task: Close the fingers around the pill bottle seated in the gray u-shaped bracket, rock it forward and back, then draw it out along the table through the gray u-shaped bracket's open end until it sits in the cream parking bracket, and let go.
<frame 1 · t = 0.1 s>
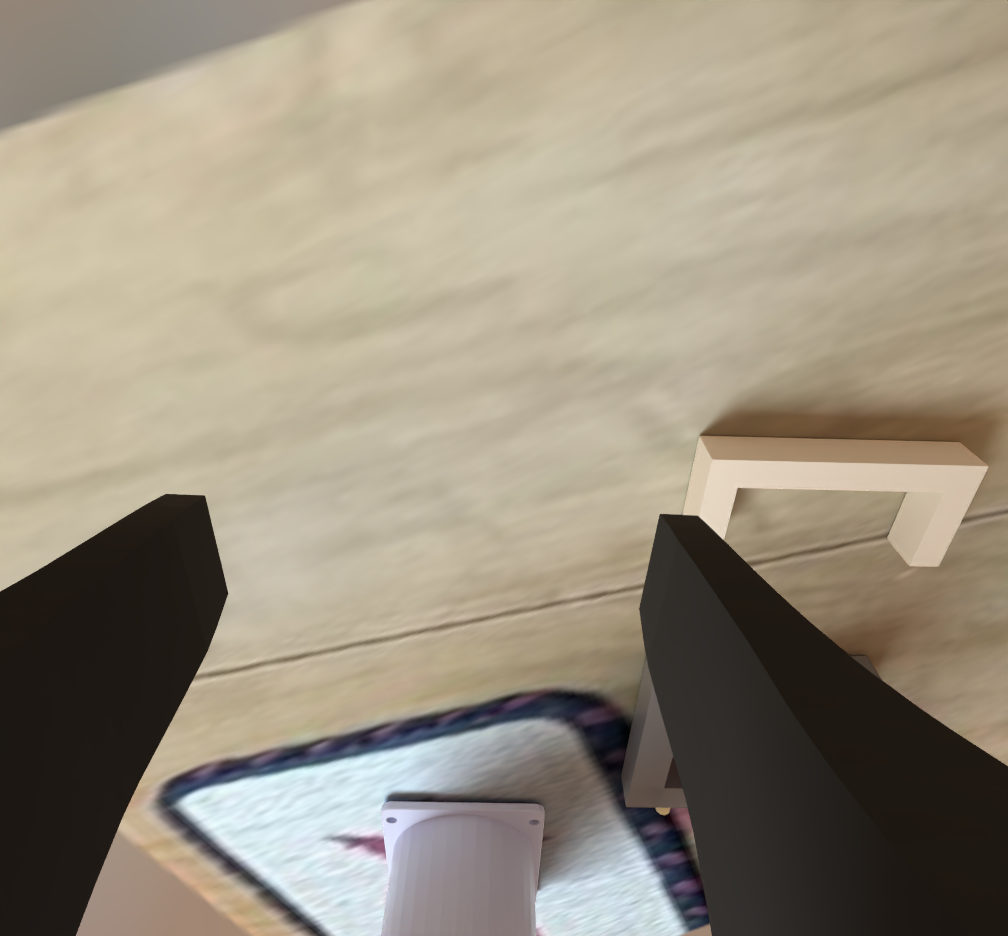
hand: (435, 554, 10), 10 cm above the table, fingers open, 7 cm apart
gray u-shaped bracket: (738, 709, 28), on the table
parking bracket: (825, 452, 21), on the table
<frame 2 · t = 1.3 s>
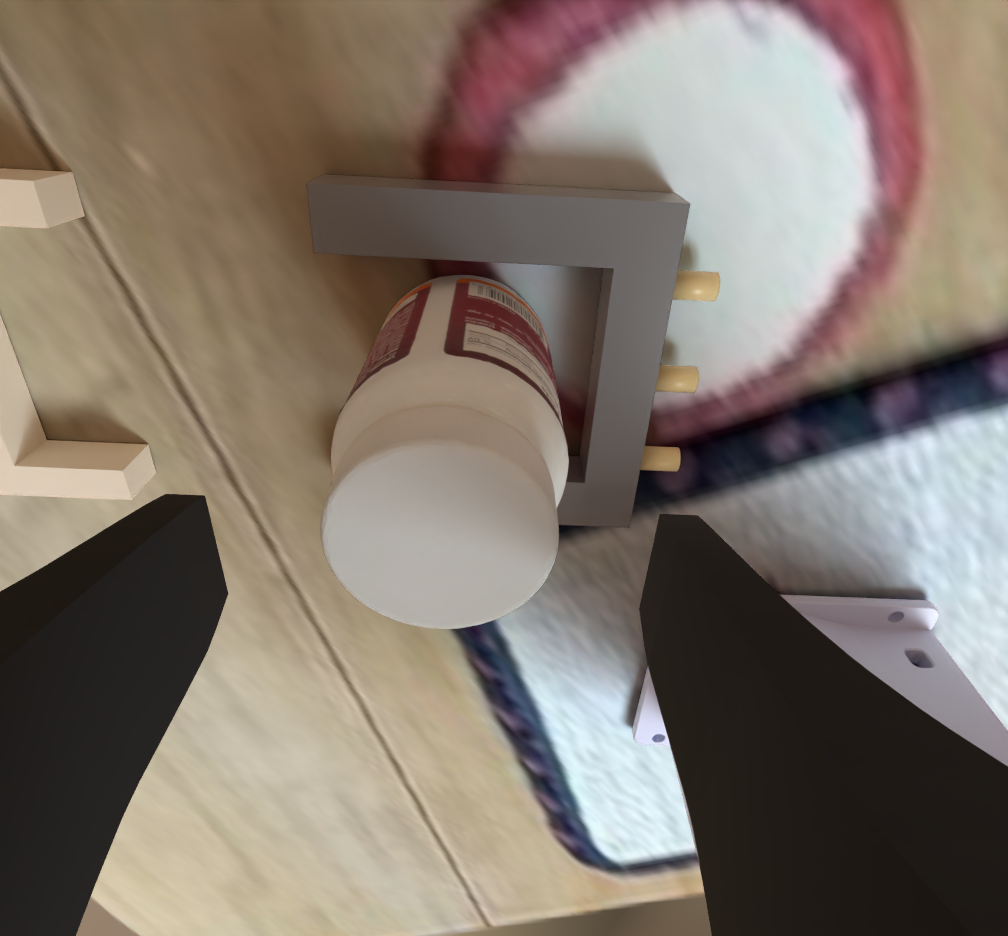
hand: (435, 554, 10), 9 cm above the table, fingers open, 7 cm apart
pill bottle: (466, 354, 18), on the table
gray u-shaped bracket: (465, 357, 18), on the table
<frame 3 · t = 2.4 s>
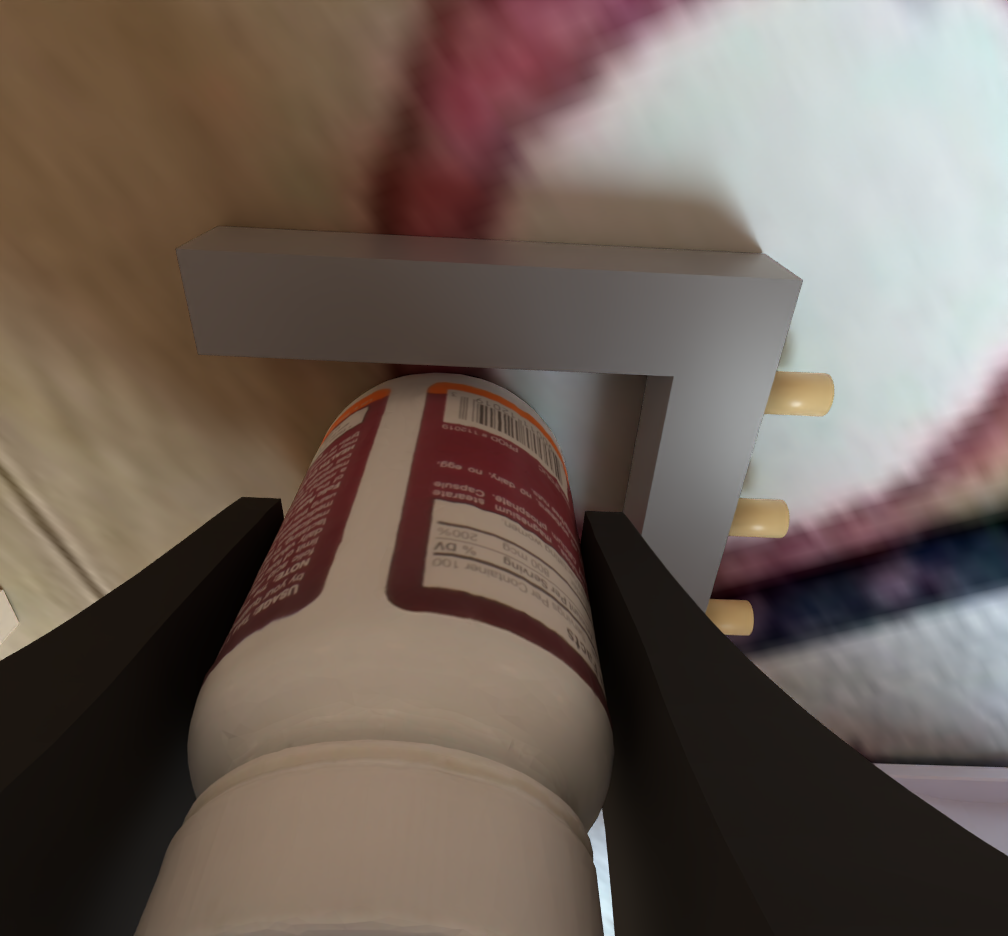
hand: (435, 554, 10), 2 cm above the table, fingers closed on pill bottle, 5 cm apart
pill bottle: (446, 475, 12), on the table, touching gripper
gray u-shaped bracket: (445, 481, 12), on the table
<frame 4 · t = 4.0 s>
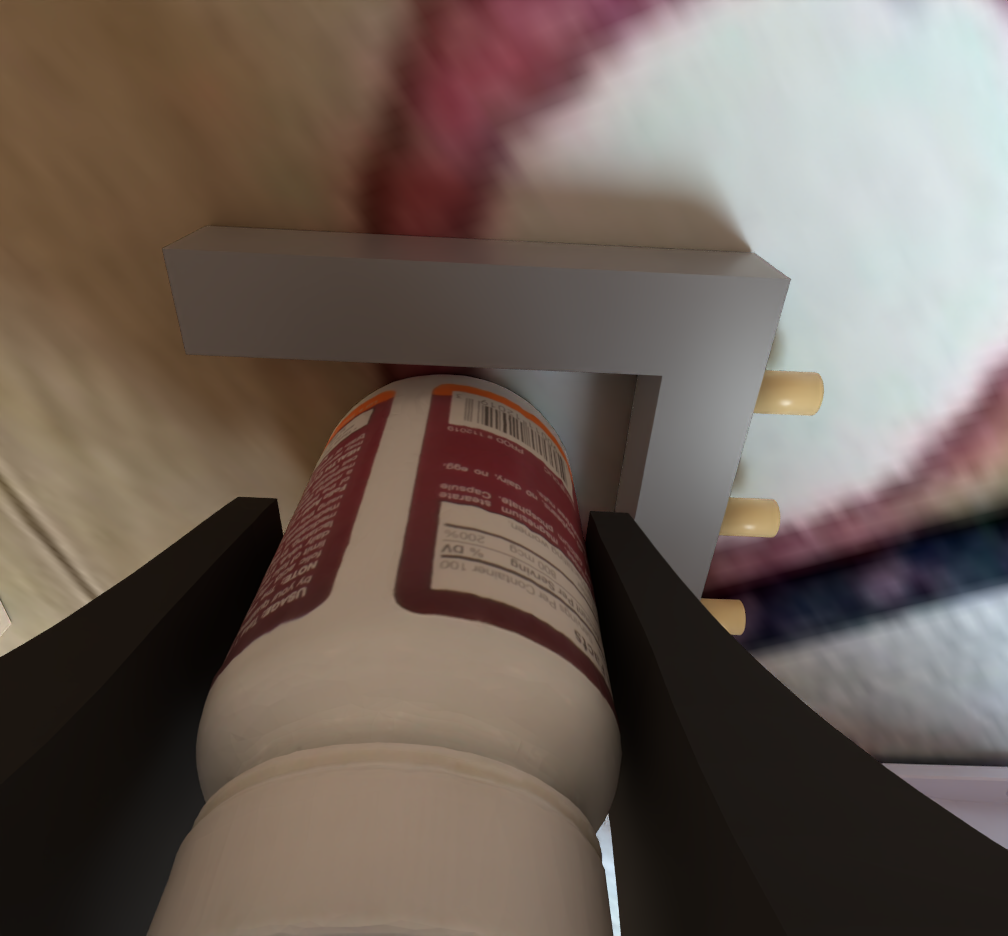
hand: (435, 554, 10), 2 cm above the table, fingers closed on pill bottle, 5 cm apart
pill bottle: (451, 476, 12), on the table, touching gripper
gray u-shaped bracket: (437, 480, 12), on the table
when the fingers open (2 cm above the table, at t = 4.0 s): pill bottle moves 6 cm, on the table.
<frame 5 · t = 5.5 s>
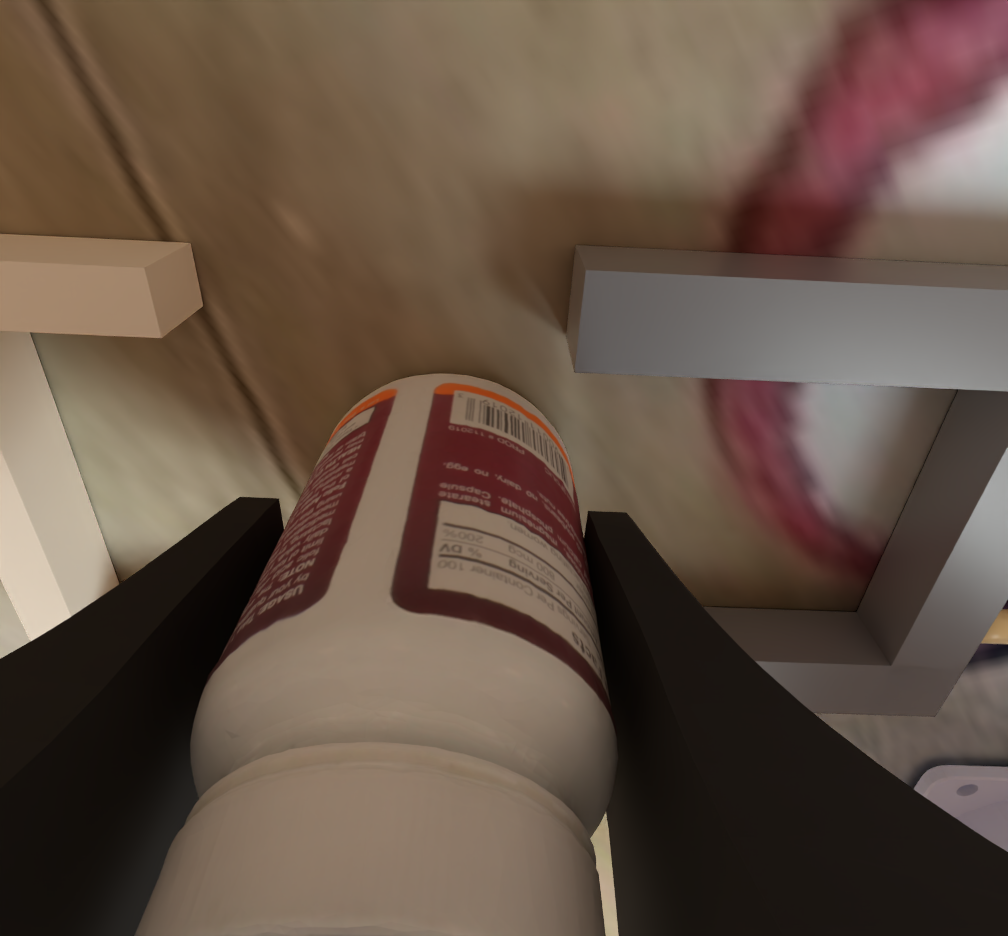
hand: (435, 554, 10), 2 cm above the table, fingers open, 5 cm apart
pill bottle: (452, 476, 12), on the table, touching gripper
gray u-shaped bracket: (730, 492, 12), on the table
parking bracket: (51, 466, 12), on the table
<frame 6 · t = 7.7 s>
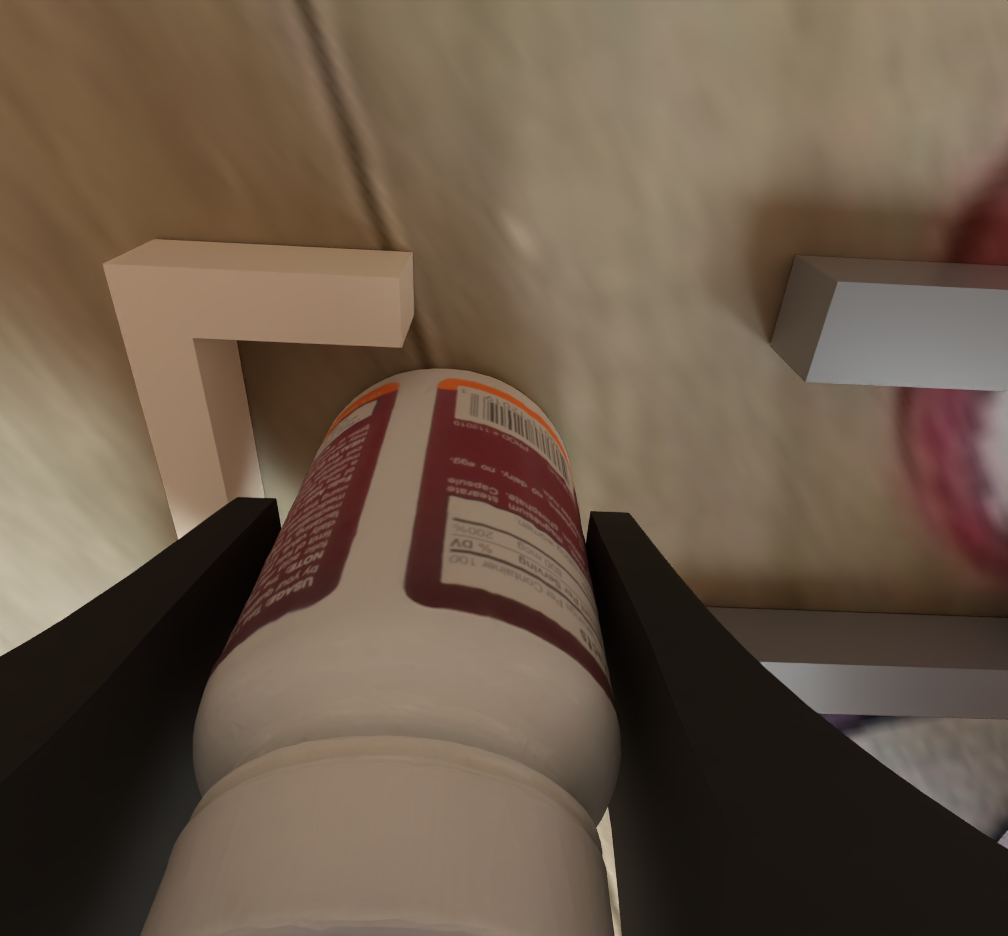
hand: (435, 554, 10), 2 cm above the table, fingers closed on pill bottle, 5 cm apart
pill bottle: (449, 472, 12), on the table, touching gripper
gray u-shaped bracket: (906, 500, 12), on the table
parking bracket: (233, 472, 12), on the table
when the fingers open (2 cm above the table, at t = 7.7 s): pill bottle stays where it is, on the table.
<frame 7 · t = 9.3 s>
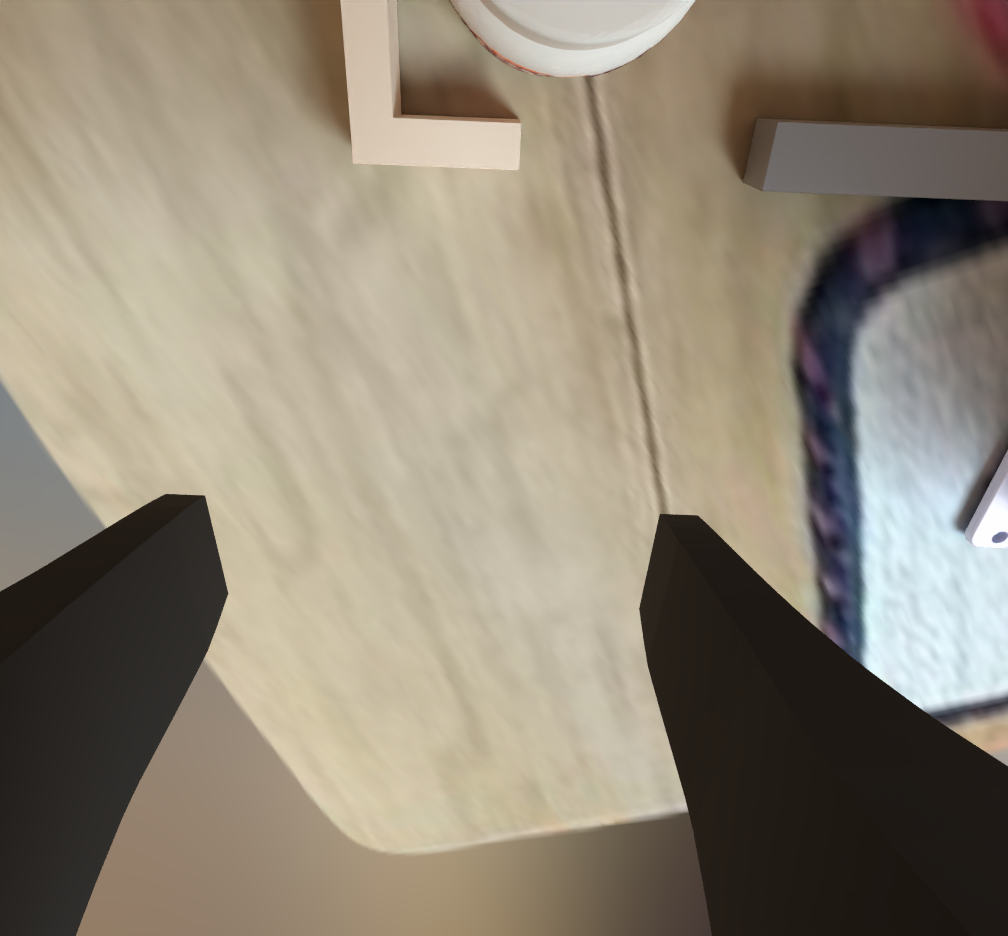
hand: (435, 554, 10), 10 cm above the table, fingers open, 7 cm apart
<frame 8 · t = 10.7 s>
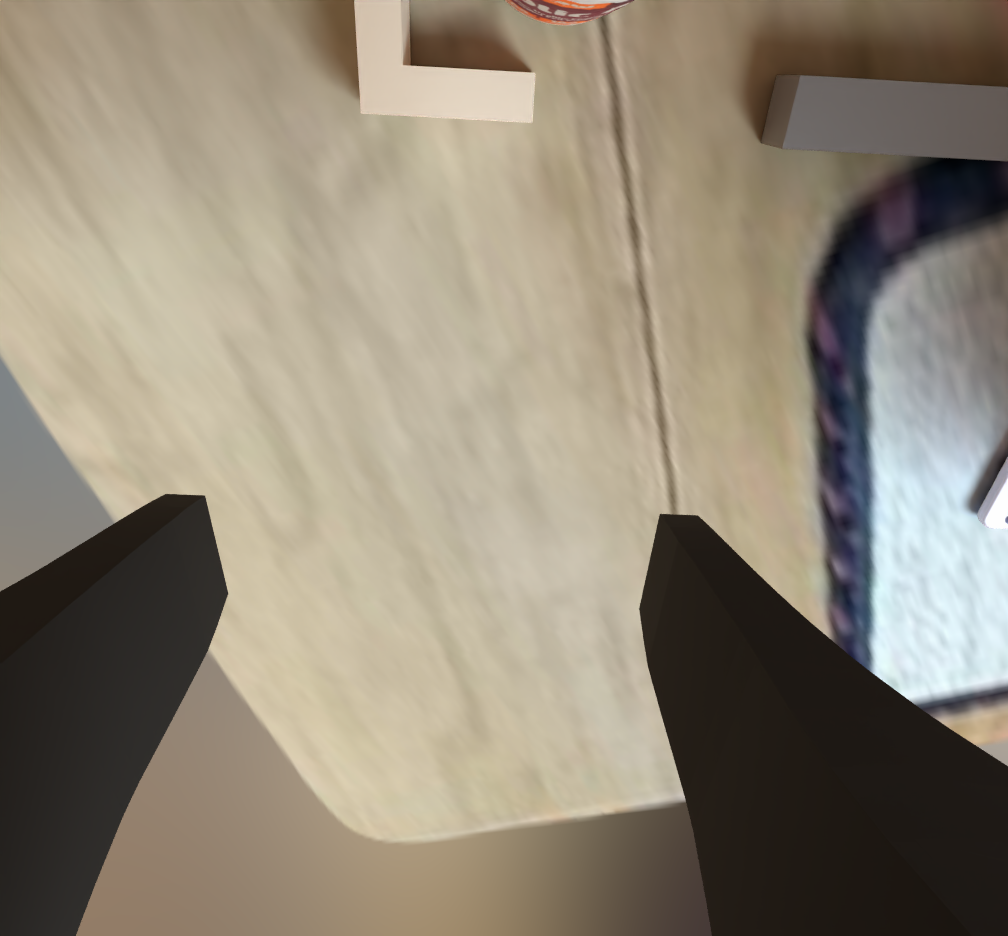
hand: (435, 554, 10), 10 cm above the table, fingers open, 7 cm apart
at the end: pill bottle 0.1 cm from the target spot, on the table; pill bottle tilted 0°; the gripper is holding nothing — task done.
